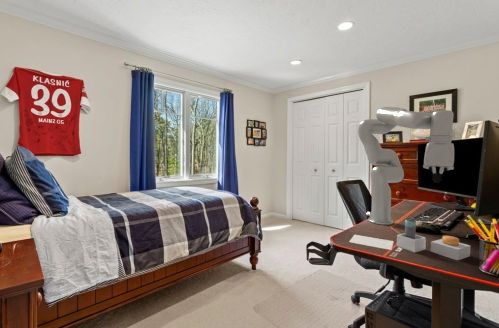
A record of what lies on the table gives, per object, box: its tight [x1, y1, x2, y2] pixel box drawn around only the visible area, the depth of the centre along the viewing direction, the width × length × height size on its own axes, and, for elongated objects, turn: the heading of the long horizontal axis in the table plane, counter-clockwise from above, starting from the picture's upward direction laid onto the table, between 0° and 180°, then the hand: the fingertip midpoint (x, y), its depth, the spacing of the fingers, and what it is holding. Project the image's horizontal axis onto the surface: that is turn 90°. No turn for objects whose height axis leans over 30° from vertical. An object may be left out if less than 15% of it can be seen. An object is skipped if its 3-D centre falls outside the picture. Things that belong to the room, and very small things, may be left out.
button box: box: [430, 238, 472, 261], centre depth 97 cm, size 9×9×4 cm
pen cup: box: [396, 232, 427, 254], centre depth 103 cm, size 7×7×5 cm
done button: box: [441, 235, 460, 245], centre depth 97 cm, size 5×5×2 cm
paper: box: [348, 234, 394, 251], centre depth 110 cm, size 16×12×1 cm
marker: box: [404, 218, 417, 240], centre depth 103 cm, size 4×4×11 cm
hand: (436, 182), depth 110 cm, fingers closed
